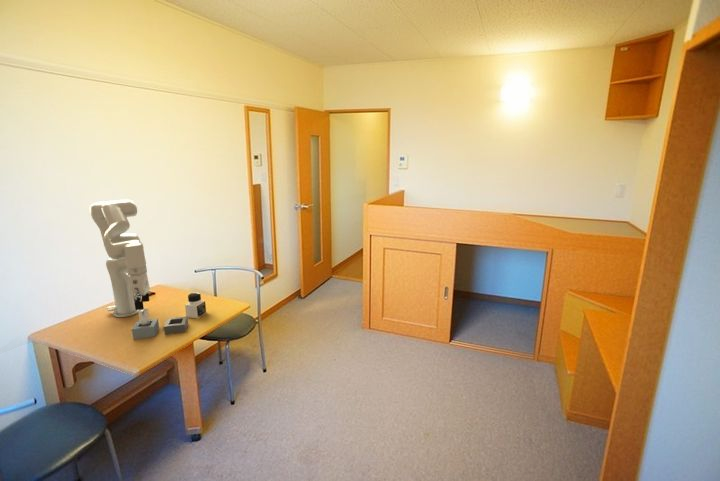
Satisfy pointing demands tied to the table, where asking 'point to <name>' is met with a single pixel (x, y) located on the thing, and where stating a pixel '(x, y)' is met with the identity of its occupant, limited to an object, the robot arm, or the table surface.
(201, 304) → the medicine bottle
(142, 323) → the steel rod
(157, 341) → the table surface
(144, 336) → the socket block
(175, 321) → the grey square ring
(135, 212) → the robot arm
